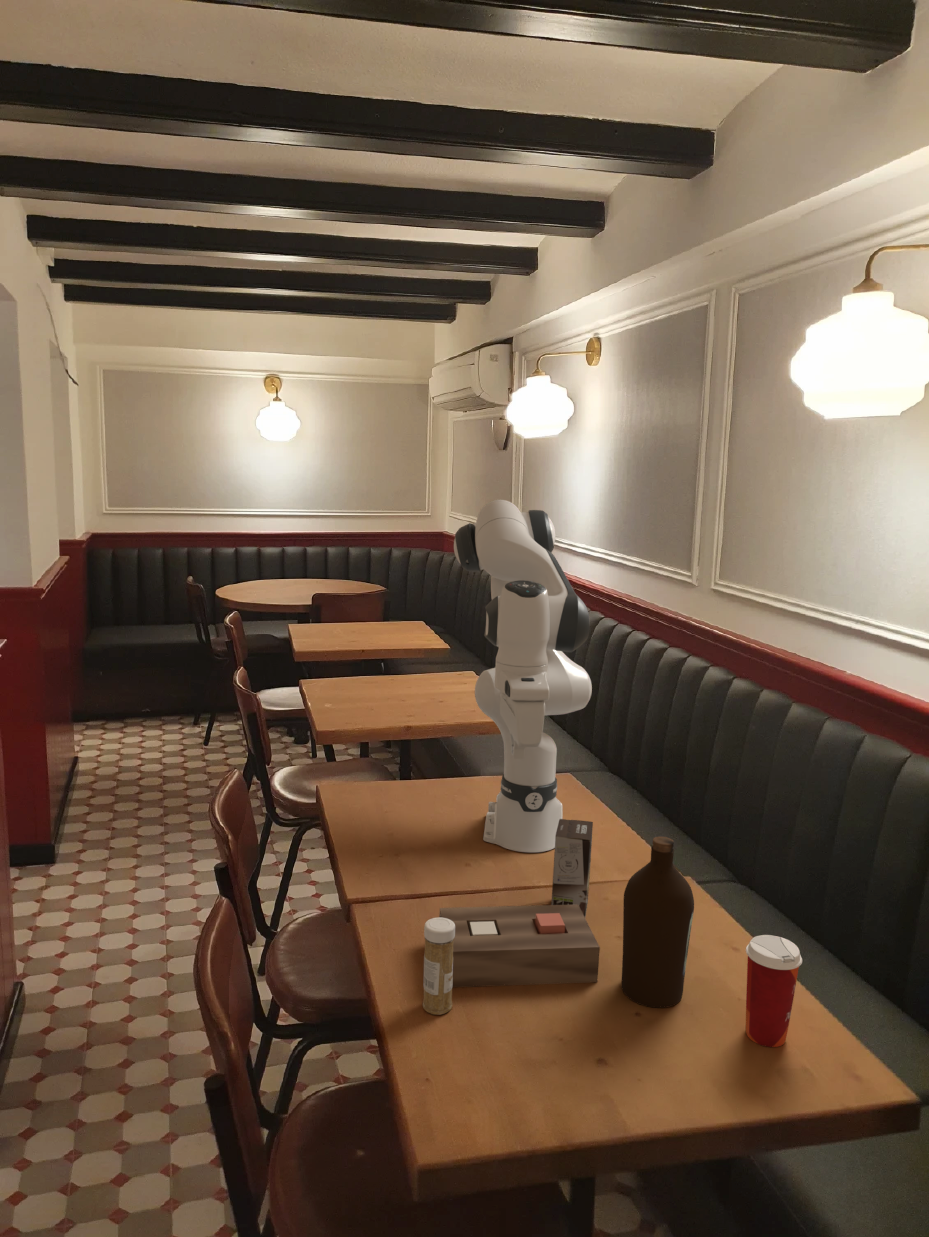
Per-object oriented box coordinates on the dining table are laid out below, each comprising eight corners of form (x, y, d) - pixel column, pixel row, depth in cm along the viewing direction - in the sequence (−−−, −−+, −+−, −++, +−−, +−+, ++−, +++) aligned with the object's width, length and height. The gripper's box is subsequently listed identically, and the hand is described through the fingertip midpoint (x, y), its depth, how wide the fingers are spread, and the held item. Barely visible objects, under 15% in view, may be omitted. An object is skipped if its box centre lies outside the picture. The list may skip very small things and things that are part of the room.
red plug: (534, 945, 152) (535, 913, 151) (557, 945, 152) (559, 913, 151) (538, 958, 148) (540, 925, 147) (562, 958, 148) (564, 925, 147)
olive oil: (627, 1011, 137) (638, 855, 133) (610, 972, 147) (620, 826, 143) (696, 1010, 138) (709, 855, 133) (674, 971, 148) (686, 826, 144)
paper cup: (804, 1047, 130) (814, 957, 127) (758, 1055, 128) (767, 963, 125) (771, 1015, 137) (780, 929, 135) (727, 1022, 135) (735, 935, 133)
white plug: (468, 954, 151) (469, 921, 150) (492, 953, 151) (493, 921, 150) (471, 967, 147) (472, 934, 146) (496, 966, 147) (497, 933, 146)
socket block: (438, 940, 155) (439, 907, 154) (576, 936, 158) (578, 904, 157) (446, 987, 141) (448, 951, 140) (597, 981, 144) (599, 946, 143)
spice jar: (457, 1012, 135) (460, 928, 133) (428, 1018, 133) (431, 933, 131) (444, 995, 139) (447, 913, 137) (417, 1001, 137) (419, 919, 135)
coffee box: (585, 925, 162) (590, 840, 159) (549, 920, 163) (554, 836, 160) (589, 902, 171) (594, 820, 168) (554, 897, 172) (559, 816, 169)
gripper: (493, 664, 164) (490, 738, 166) (512, 693, 144) (508, 776, 146) (527, 664, 164) (524, 738, 167) (552, 693, 144) (547, 776, 147)
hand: (517, 756), depth 156 cm, fingers closed
